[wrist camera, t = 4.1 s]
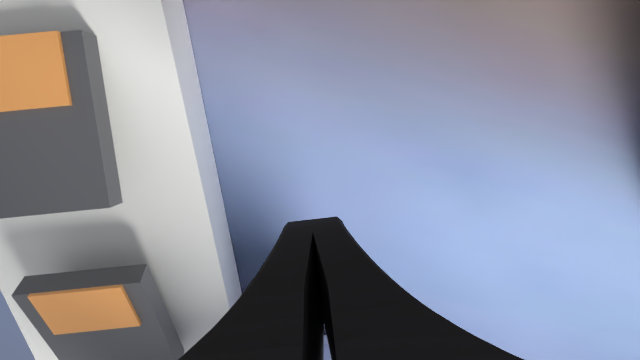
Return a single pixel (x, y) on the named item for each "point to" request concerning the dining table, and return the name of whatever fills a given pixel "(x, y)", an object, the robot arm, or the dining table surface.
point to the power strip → (135, 170)
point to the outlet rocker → (54, 126)
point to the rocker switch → (100, 314)
